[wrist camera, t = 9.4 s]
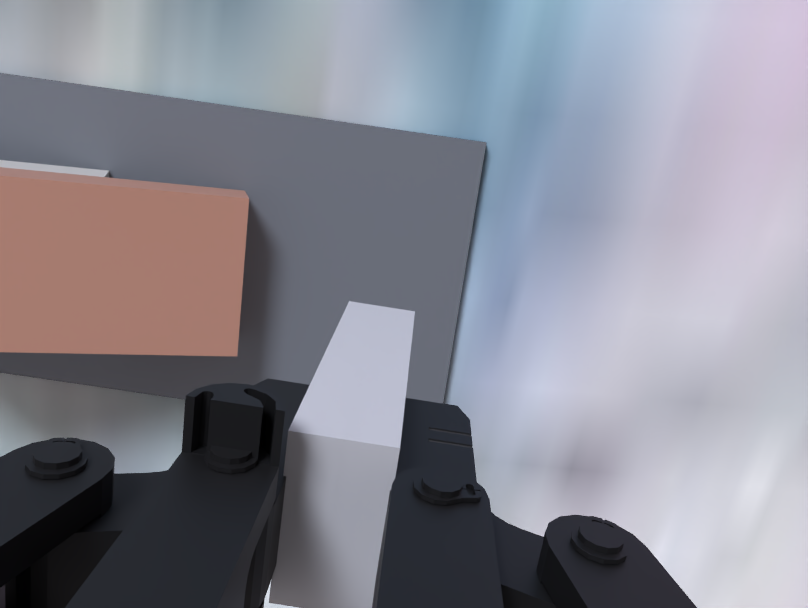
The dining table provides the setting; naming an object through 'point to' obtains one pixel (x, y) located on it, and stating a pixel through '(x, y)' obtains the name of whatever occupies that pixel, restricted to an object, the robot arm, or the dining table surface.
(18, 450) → the robot arm
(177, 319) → the domino
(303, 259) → the mat
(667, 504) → the dining table surface
